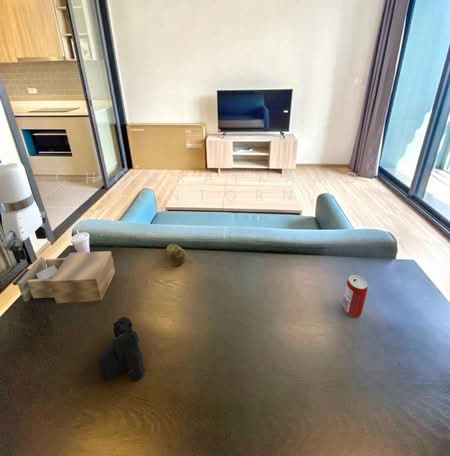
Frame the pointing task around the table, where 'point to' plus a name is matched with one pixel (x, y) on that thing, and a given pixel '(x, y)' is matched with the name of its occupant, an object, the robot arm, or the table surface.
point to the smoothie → (81, 241)
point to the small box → (47, 273)
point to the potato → (176, 255)
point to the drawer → (36, 279)
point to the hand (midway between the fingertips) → (32, 248)
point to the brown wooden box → (83, 277)
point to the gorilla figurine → (122, 353)
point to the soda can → (354, 296)
